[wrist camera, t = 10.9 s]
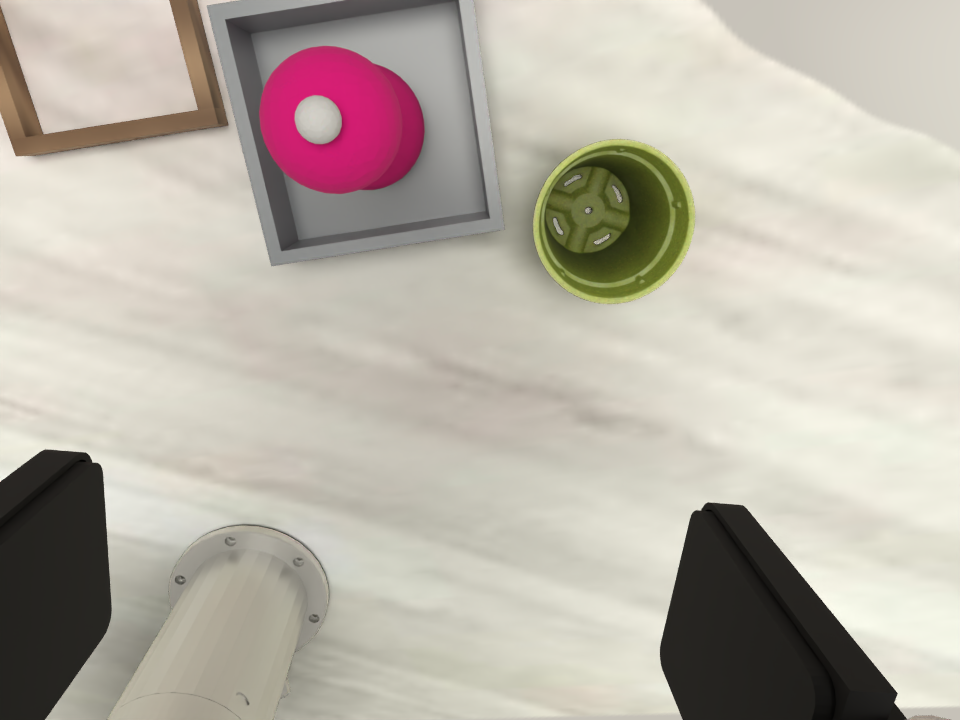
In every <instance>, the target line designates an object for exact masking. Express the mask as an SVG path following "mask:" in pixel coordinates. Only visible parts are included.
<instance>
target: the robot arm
mask: <svg viewBox="0 0 960 720" xmlns="http://www.w3.org/2000/svg"><path fill="white" fill-rule="evenodd" d="M169 600H170V606H171V609H172V611H171V613H170V615H169V616H168V618H167V620H166V621H165V623H164V625H163V626H162V628H161V630H160V631H159V633H158V635H157V636H156V638H155V640H154V641H153V643H152V645H151V646H150V648H149V650H148V651H147V653H146V655H145V656H144V658H143V660H142V661H141V663H140V665H139V667H138V668H137V670H136V672H135V673H134V675H133V677H132V678H131V680H130V682H129V683H128V685H127V687H126V688H125V690H124V692H123V693H122V695H121V697H120V698H119V700H118V702H117V703H116V705H115V707H114V708H113V710H112V712H111V713H110V715H109V717H108V718H107V720H273V719H274V716H275V713H276V710H277V706H278V703H279V700H280V698H283V697H285V696H287V695H288V694H289V692H290V685H289V681H288V678H287V674H288V671H289V667H290V664H291V661H292V658H293V654H294V652H296V651H298V650H299V649H300V648H302V647H303V646H305V645H306V644H307V643H308V642H309V641H310V640H311V639H312V638H313V637H314V636H315V635H316V633H317V632H318V630H319V628H320V627H321V625H322V623H323V620H324V617H325V614H326V611H327V606H328V601H329V591H328V584H327V580H326V576H325V574H324V572H323V570H322V568H321V566H320V564H319V562H318V561H317V560H316V558H315V557H314V556H313V555H312V553H311V552H310V551H309V550H308V549H306V548H305V547H304V546H303V545H302V544H301V543H299V542H298V541H296V540H294V539H293V538H291V537H289V536H288V535H286V534H283V533H281V532H278V531H276V530H273V529H268V528H264V527H259V526H245V525H241V526H232V527H226V528H223V529H219V530H216V531H213V532H211V533H209V534H207V535H205V536H203V537H201V538H199V539H198V540H197V541H196V542H194V543H193V544H192V545H191V546H189V548H188V549H187V550H186V551H185V552H184V554H183V555H182V556H181V558H180V559H179V561H178V563H177V564H176V566H175V567H174V570H173V572H172V575H171V578H170V584H169ZM110 619H111V592H110V576H109V561H108V545H107V529H106V513H105V498H104V482H103V471H102V468H101V465H100V464H98V463H92V460H91V458H90V456H89V455H88V454H87V453H83V452H71V451H58V450H43V451H41V452H39V453H38V454H37V455H35V456H34V457H33V458H31V459H30V460H29V461H27V462H26V463H25V464H23V465H22V466H21V467H19V468H18V469H17V470H15V471H14V472H13V473H11V474H10V475H9V476H7V477H6V478H5V479H3V480H2V481H1V482H0V720H45V719H46V718H47V716H48V715H49V713H50V712H51V710H52V709H53V708H54V706H55V705H56V703H57V702H58V700H59V699H60V698H61V696H62V695H63V693H64V692H65V691H66V689H67V688H68V686H69V685H70V683H71V682H72V681H73V679H74V678H75V676H76V675H77V674H78V672H79V671H80V669H81V668H82V666H83V665H84V664H85V662H86V661H87V659H88V658H89V657H90V655H91V654H92V652H93V651H94V649H95V648H96V647H97V645H98V644H99V642H100V641H101V639H102V638H103V637H104V635H105V633H106V631H107V629H108V626H109V623H110ZM660 660H661V666H662V669H663V672H664V675H665V677H666V679H667V682H668V684H669V687H670V689H671V692H672V694H673V697H674V699H675V702H676V704H677V707H678V709H679V711H680V714H681V716H682V719H683V720H950V719H945V718H941V717H936V716H914V717H912V718H909V719H906V717H905V716H904V715H903V713H902V712H901V711H900V710H899V708H898V707H897V706H896V705H895V703H894V702H895V699H896V696H897V694H898V693H897V692H896V691H895V690H894V688H893V687H892V686H891V685H890V683H889V682H888V681H887V680H886V679H885V677H884V676H883V675H882V674H881V672H880V671H879V670H878V669H877V667H876V666H875V665H874V664H873V663H872V661H871V660H870V659H869V658H868V656H867V655H866V654H865V653H864V652H863V650H862V649H861V648H860V647H859V645H858V644H857V643H856V642H855V641H854V639H853V638H852V637H851V636H850V634H849V633H848V632H847V631H846V630H845V628H844V627H843V626H842V625H841V623H840V622H839V621H838V620H837V619H836V617H835V616H834V615H833V614H832V612H831V611H830V610H829V609H828V608H827V606H826V605H825V604H824V603H823V601H822V600H821V599H820V598H819V597H818V595H817V594H816V593H815V592H814V590H813V589H812V588H811V587H810V586H809V584H808V583H807V582H806V581H805V579H804V578H803V577H802V576H801V574H800V573H799V572H798V571H797V570H796V568H795V567H794V566H793V565H792V563H791V562H790V561H789V560H788V559H787V557H786V556H785V555H784V554H783V552H782V551H781V550H780V549H779V548H778V546H777V545H776V544H775V543H774V541H773V540H772V539H771V538H770V537H769V535H768V534H767V533H766V532H765V530H764V529H763V528H762V527H761V526H760V524H759V523H758V522H757V521H756V519H755V518H754V517H753V516H752V515H751V513H750V512H749V511H748V510H747V508H745V507H744V506H743V505H733V504H720V503H706V504H705V505H704V506H703V508H702V510H701V511H698V510H696V511H694V512H693V513H692V515H691V518H690V522H689V526H688V530H687V534H686V539H685V543H684V547H683V551H682V556H681V560H680V564H679V568H678V573H677V577H676V581H675V586H674V590H673V594H672V598H671V603H670V607H669V611H668V615H667V620H666V624H665V628H664V632H663V637H662V641H661V646H660Z"/></svg>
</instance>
